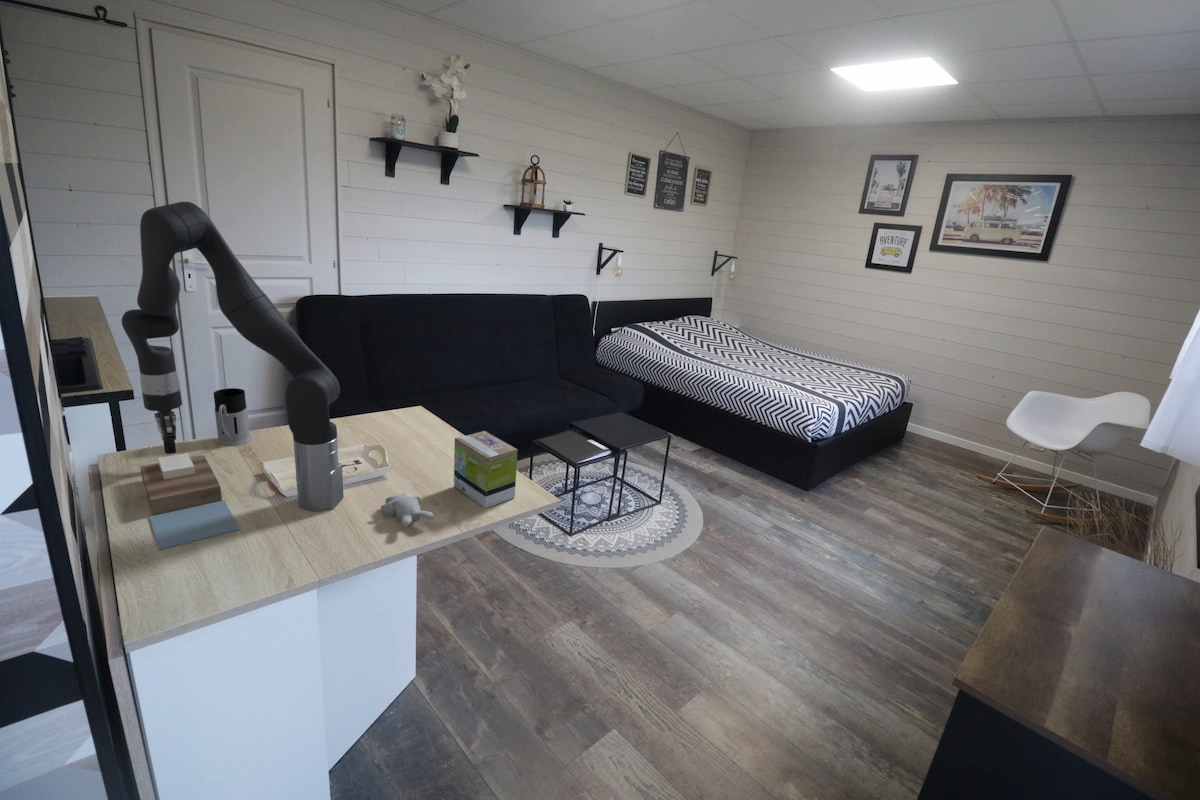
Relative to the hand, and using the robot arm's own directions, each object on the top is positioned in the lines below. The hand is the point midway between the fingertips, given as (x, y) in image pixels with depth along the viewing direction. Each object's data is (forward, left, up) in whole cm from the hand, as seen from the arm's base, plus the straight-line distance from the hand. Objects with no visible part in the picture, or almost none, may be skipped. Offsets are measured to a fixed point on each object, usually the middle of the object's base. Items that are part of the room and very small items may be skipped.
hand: (170, 452), depth 143 cm
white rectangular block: (-7, +8, 0) cm, 10 cm away
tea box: (-80, -1, -5) cm, 81 cm away
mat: (-21, +24, -4) cm, 33 cm away
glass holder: (-4, -17, -5) cm, 18 cm away
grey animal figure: (-65, +15, -5) cm, 67 cm away
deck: (-9, +11, -4) cm, 15 cm away
